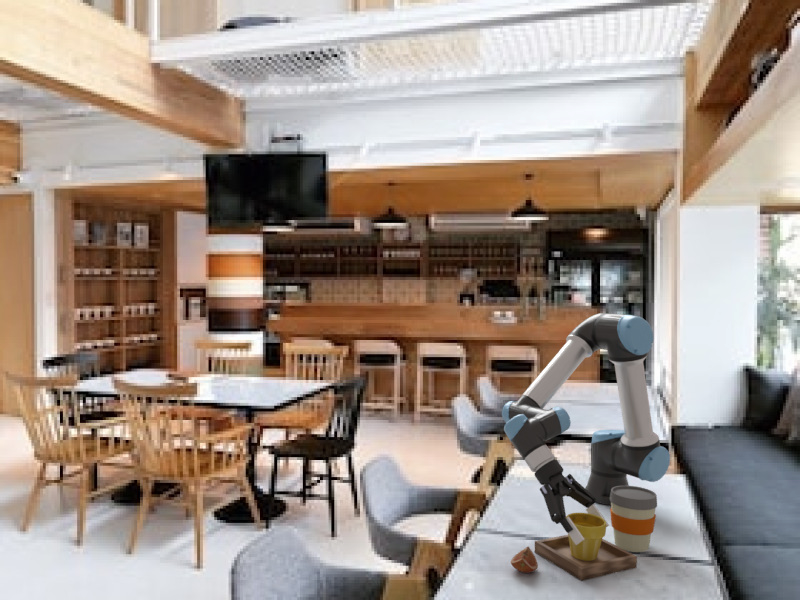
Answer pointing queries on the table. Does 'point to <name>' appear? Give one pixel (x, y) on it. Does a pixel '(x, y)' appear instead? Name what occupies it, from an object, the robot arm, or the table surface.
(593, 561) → the walnut tray
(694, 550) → the table surface
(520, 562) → the fruit slice
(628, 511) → the reusable coffee cup
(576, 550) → the plant pot
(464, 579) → the table surface
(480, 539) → the table surface
